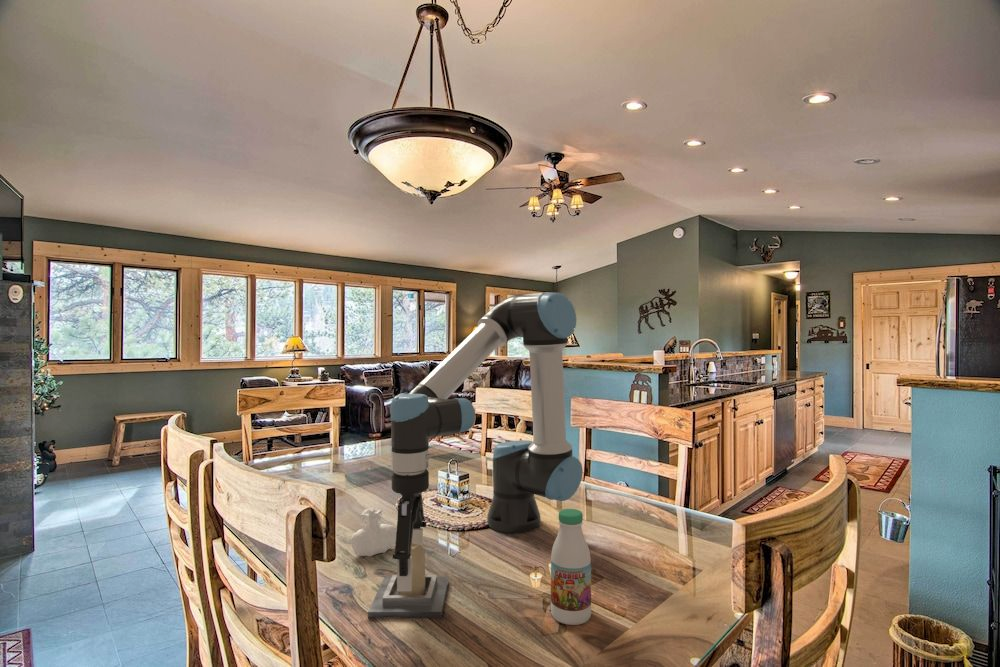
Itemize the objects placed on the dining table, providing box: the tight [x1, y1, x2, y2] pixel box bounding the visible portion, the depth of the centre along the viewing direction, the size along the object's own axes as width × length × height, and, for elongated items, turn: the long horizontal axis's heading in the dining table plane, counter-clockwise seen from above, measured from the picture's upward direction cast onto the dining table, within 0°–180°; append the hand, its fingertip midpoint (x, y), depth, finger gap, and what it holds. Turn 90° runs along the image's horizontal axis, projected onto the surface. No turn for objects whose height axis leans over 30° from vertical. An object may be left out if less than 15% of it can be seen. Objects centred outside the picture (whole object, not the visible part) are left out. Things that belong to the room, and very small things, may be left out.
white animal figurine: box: [349, 507, 397, 557], centre depth 130 cm, size 12×8×11 cm
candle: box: [398, 543, 426, 595], centre depth 106 cm, size 6×6×10 cm
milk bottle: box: [550, 508, 592, 626], centre depth 100 cm, size 8×8×20 cm
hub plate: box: [367, 574, 450, 619], centre depth 106 cm, size 14×14×3 cm
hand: (410, 573), depth 106 cm, fingers open, 13 cm apart
